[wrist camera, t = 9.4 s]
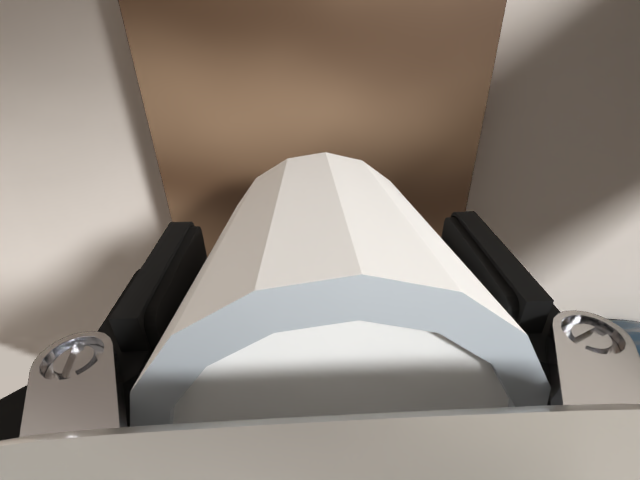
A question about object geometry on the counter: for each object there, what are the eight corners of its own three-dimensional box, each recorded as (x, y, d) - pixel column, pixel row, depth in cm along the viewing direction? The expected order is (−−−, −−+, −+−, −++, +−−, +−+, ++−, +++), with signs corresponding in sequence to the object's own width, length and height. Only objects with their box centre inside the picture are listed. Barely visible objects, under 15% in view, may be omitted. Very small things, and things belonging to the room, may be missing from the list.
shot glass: (408, 318, 14) (488, 541, 8) (221, 318, 14) (161, 553, 8) (447, 134, 11) (635, 283, 5) (200, 126, 10) (63, 278, 4)
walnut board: (114, -96, 12) (91, -110, 10) (504, -102, 12) (529, -116, 11) (211, 336, 21) (205, 357, 20) (430, 327, 21) (438, 348, 20)
